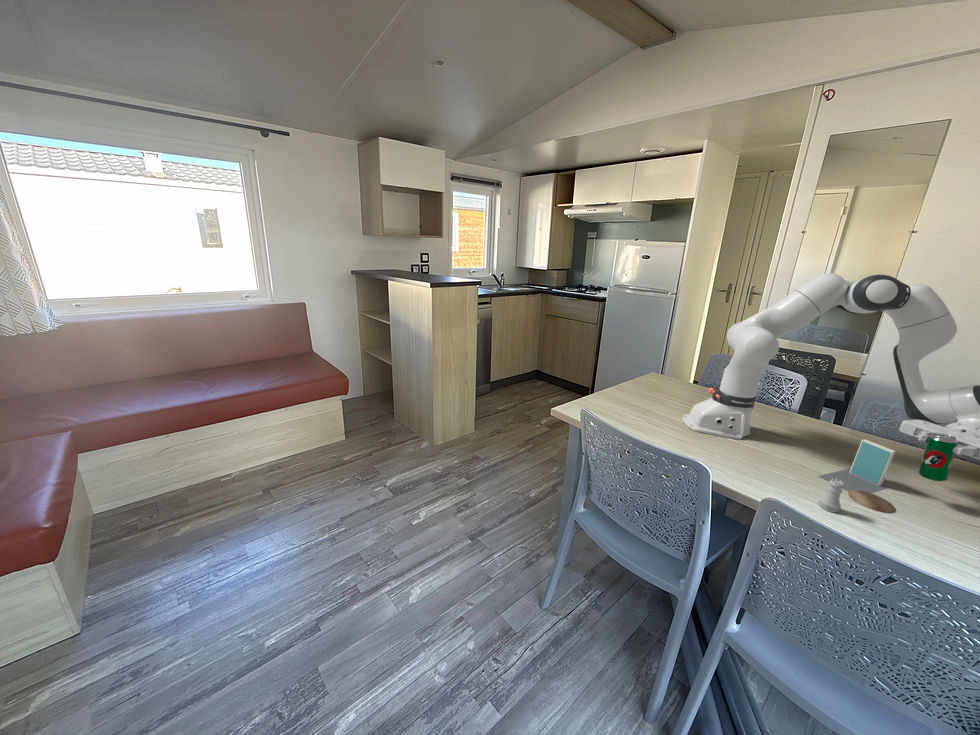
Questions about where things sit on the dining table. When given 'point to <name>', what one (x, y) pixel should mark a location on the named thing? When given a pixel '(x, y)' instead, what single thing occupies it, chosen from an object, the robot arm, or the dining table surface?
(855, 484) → the rubber mat
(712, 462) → the dining table surface
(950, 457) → the soda can
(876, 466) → the glazed tile
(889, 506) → the coaster
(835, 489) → the rook chess piece
